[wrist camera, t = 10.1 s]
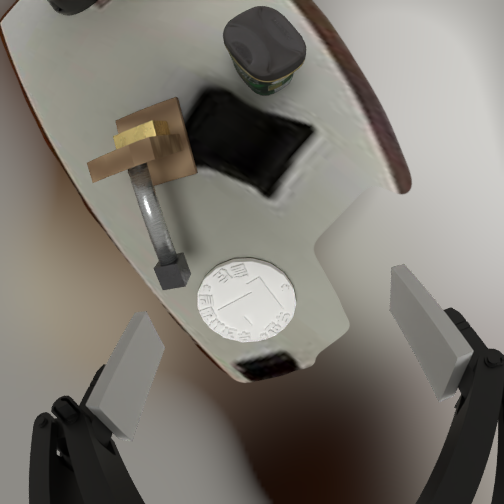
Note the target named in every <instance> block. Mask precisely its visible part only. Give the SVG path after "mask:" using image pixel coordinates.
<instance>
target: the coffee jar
mask: <svg viewBox="0 0 504 504" xmlns="http://www.w3.org/2000/svg"><path fill="white" fill-rule="evenodd" d="M223 39H224V44H225V46H226V48H227V50H228V52H229V54H230V56H231V58H232V61H233V64H234V66H235V68H236V70H237V72H238V73H239V75H240V76H241V78H242V79H243V80H244V82H245V83H246V84H247V85H248V86H249V87H250V88H251V89H252V90H253V91H254V92H256V93H257V94H260V95H270V94H273V93H275V92H277V91H279V90H281V89H282V88H284V87H285V86H286V85H287V84H288V83H289V82H290V81H291V79H292V76H293V73H294V72H295V71H296V70H297V69H299V68H300V67H301V65H302V64H303V62H304V60H305V55H306V45H305V42H304V40H303V38H302V36H301V35H300V34H299V33H298V31H297V30H296V29H295V28H294V27H293V26H292V24H291V23H290V22H289V21H288V20H287V19H286V18H285V16H283V15H282V14H281V13H280V12H278V11H277V10H275V9H273V8H270V7H266V6H257V7H254V8H251V9H249V10H247V11H245V12H243V13H241V14H239V15H238V16H236V17H234V18H233V19H232V20H230V21H229V22H228V24H227V25H226V27H225V29H224V32H223Z"/></svg>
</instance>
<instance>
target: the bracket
mask: <svg viewBox="0 0 504 504" xmlns="http://www.w3.org/2000/svg"><path fill="white" fill-rule="evenodd" d="M152 120H154V121H167V123H168V127H169V130H170V134H171V135H161V136H151V137H147V138H144V139H142V140H139V141H137V142H134V143H131V144H129V145H126V146H124V147H122V148H119V149H117V150H114V151H112V152H110V153H107V154H105V155H103V156H101V157H98V158H96V159H94V160H92V161H90V162H88V163H87V165H88V168H89V172H90V175H91V178H92V182H93V183H94V182H97V181H99V180H101V179H104V178H106V177H109V176H111V175H114V174H116V173H119V172H122V171H124V170H127V169H129V168H132V167H135V166H138V165H140V164H143V163H146V162H147V165H148V169H149V172H150V175H151V179H152V182H153V185H154V186H155V185H159V184H162V183H165V182H168V181H172V180H175V179H179V178H182V177H186V176H189V175H193V174H196V173H198V172H197V168H196V165H195V161H194V157H193V154H192V150H191V146H190V143H189V139H188V135H187V131H186V128H185V124H184V120H183V116H182V112H181V108H180V104H179V100H178V98H177V97H175V98H172V99H169V100H166V101H163V102H160V103H158V104H155V105H152V106H150V107H147V108H145V109H142V110H140V111H137V112H135V113H132V114H130V115H128V116H125V117H123V118H121V119H119V120H116V125H117V129H118V133H119V134H120V133H122V132H124V131H127V130H129V129H132V128H134V127H137V126H139V125H142V124H144V123H147V122H149V121H152Z"/></svg>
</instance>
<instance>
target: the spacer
mask: <svg viewBox="0 0 504 504" xmlns="http://www.w3.org/2000/svg"><path fill="white" fill-rule="evenodd" d="M161 135H171V134H170V130H169V127H168V123H167V121H154V120H152V121H149V122H147V123H144V124H142V125H139V126H137V127H134V128H132V129H129V130H127V131H124V132H122V133H120V134H117V135H115V136H113V138H114V142H115V146H116V149H119V148H122V147H124V146H126V145H129V144H131V143H134V142H137V141H139V140H142V139H144V138H147V137H151V136H161Z"/></svg>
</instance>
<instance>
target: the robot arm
mask: <svg viewBox="0 0 504 504" xmlns="http://www.w3.org/2000/svg"><path fill="white" fill-rule="evenodd" d="M47 1H48V2H49V3H50V5H51V6H52V7H53V9H54V10H55V11H56V12H58V13H61V14H63V15H73V14H77V13H79V12H81V11H83V10H85V9H86V8H88V7H89V6H91V5H92V4H93V3H95V2H96V1H97V0H47ZM390 311H391V313H392V315H393V317H394V318H395V320H396V322H397V323H398V325H399V327H400V329H401V330H402V332H403V334H404V336H405V337H406V339H407V341H408V342H409V345H410V346H411V348H412V350H413V352H414V354H415V356H416V357H417V359H418V361H419V363H420V365H421V367H422V369H423V371H424V373H425V375H426V376H427V379H428V381H429V383H430V384H431V387H432V389H433V391H434V392H435V395H436V397H437V399H438V401H439V402H441V401H443V400H446V399H447V398H450V397H452V396H454V395H455V393H456V390H457V388H459V390H460V392H461V396H460V398H459V400H458V401H457V403H456V405H455V408H456V412H455V414H454V418H453V421H452V424H451V427H450V430H449V433H448V435H447V438H446V440H445V443H444V446H443V448H442V451H441V453H440V456H439V458H438V460H437V463H436V465H435V467H434V469H433V471H432V473H431V475H430V477H429V480H428V482H427V484H426V486H425V487H424V489H423V491H422V493H421V495H420V497H419V499H418V500H417V502H416V504H471V503H472V501H473V499H474V496H475V494H476V491H477V489H478V486H479V484H480V481H481V478H482V475H483V473H484V470H485V467H486V463H487V460H488V457H489V454H490V450H491V447H492V443H493V439H494V435H495V431H496V426H497V422H498V454H497V467H496V476H495V484H494V491H493V497H492V502H491V504H504V355H503V354H502V353H501V352H500V351H498V350H496V349H488V348H487V347H486V345H485V344H484V343H483V341H482V340H481V339H480V338H479V336H478V335H477V334H476V332H475V331H474V330H473V329H472V327H470V325H469V323H468V322H466V320H465V318H464V317H463V316H462V315H461V314H460V313H459V312H458V311H456V310H455V309H453V308H448V309H445V310H443V309H442V308H441V307H440V305H439V304H438V303H437V302H436V301H435V299H434V298H433V297H432V296H431V294H430V293H429V292H428V291H427V290H426V289H425V287H424V286H423V285H422V284H421V283H420V281H419V280H418V279H417V278H416V277H415V276H414V274H413V273H412V272H411V271H410V270H409V269H408V268H407V267H406V266H405V264H402V265H398V266H394V267H392V268H391V295H390ZM164 349H165V347H164V345H163V343H162V341H161V339H160V337H159V336H158V334H157V332H156V330H155V328H154V326H153V324H152V322H151V320H150V318H149V316H148V314H147V312H138V313H135V314H134V316H133V317H132V319H131V321H130V322H129V324H128V326H127V328H126V329H125V331H124V333H123V335H122V336H121V338H120V340H119V342H118V343H117V345H116V347H115V349H114V351H113V353H112V355H111V356H110V358H109V360H108V362H107V364H106V365H103V366H102V367H101V368H100V369H99V370H98V371H97V372H96V374H95V376H94V378H93V381H92V382H91V383H90V387H88V389H87V391H86V393H85V395H84V397H83V399H82V401H81V403H80V405H79V406H78V405H77V403H76V402H75V401H73V399H72V398H71V397H69V396H62V397H60V398H58V399H57V400H56V401H55V402H54V404H53V406H52V410H51V412H52V413H53V414H54V415H55V416H56V417H57V418H56V419H54V418H53V417H52V416H51V415H50V414H49V413H47V412H45V413H42V414H40V415H39V416H37V418H36V420H35V422H34V426H33V433H32V442H31V453H30V468H29V504H145V503H144V501H143V499H142V498H141V496H140V494H139V492H138V490H137V489H136V487H135V485H134V483H133V481H132V479H131V477H130V475H129V473H128V471H127V469H126V467H125V465H124V463H123V461H122V458H121V456H120V454H119V452H118V449H117V447H116V445H115V442H114V441H113V440H112V439H111V436H112V433H113V434H115V435H116V437H118V438H119V439H121V440H127V441H133V438H134V435H135V432H136V429H137V425H138V422H139V419H140V416H141V413H142V410H143V407H144V405H145V402H146V399H147V396H148V393H149V390H150V387H151V385H152V381H153V379H154V376H155V374H156V371H157V368H158V365H159V363H160V360H161V357H162V354H163V352H164ZM57 450H58V451H59V452H60V456H58V455H57Z"/></svg>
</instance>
